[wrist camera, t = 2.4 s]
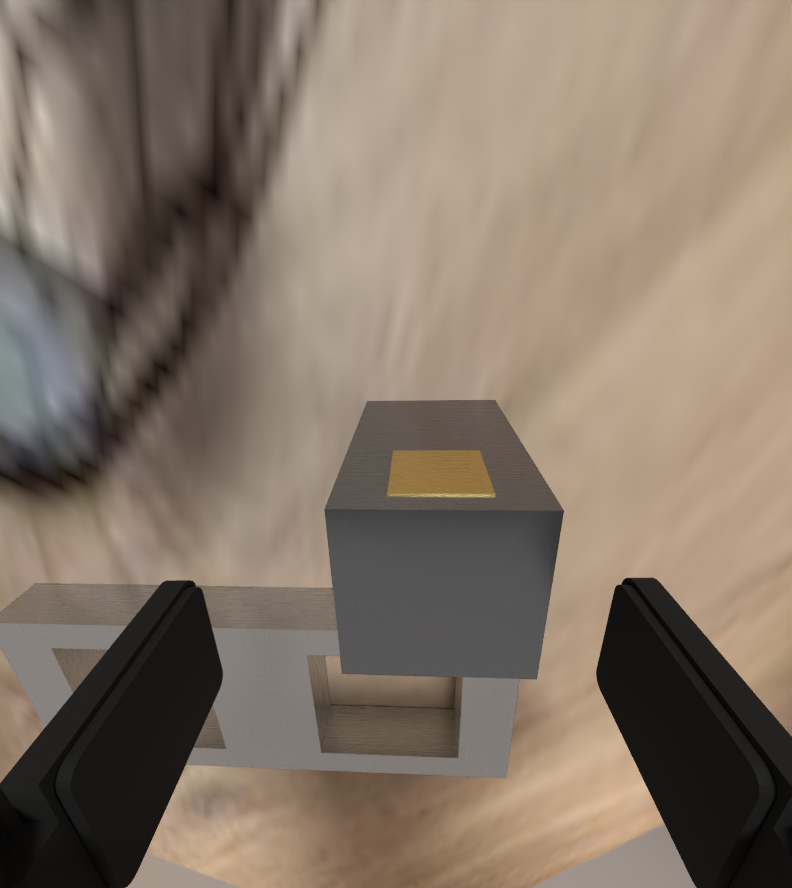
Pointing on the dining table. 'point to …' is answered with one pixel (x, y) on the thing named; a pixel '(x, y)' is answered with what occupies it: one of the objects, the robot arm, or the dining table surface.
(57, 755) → the robot arm
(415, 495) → the block
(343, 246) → the dining table surface
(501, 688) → the rail
